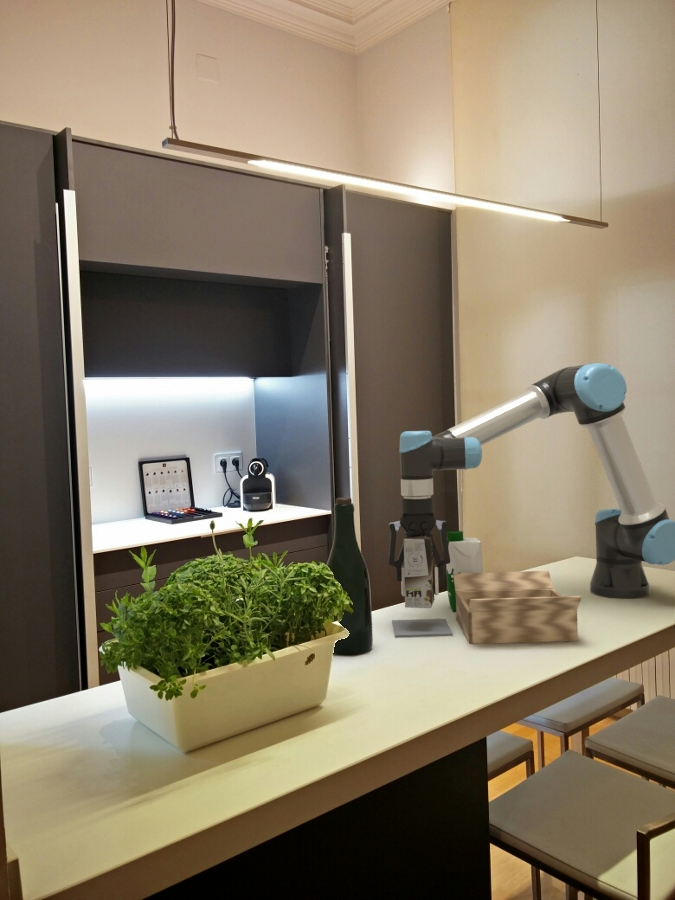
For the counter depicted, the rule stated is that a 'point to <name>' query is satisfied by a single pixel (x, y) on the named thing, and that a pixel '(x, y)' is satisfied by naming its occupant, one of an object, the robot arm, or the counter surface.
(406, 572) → the coffee box
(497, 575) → the wooden box frame
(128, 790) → the counter surface
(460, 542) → the milk carton
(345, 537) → the dark green wine bottle
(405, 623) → the mat
